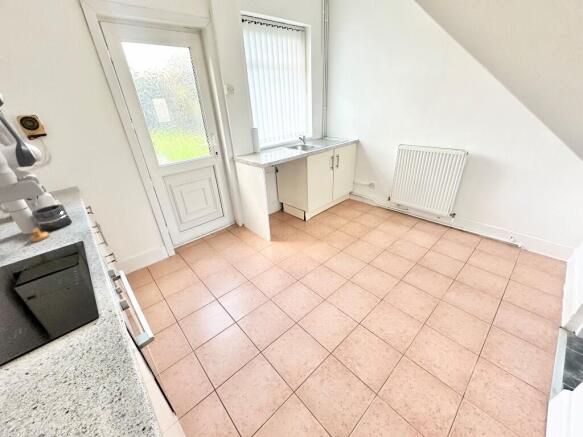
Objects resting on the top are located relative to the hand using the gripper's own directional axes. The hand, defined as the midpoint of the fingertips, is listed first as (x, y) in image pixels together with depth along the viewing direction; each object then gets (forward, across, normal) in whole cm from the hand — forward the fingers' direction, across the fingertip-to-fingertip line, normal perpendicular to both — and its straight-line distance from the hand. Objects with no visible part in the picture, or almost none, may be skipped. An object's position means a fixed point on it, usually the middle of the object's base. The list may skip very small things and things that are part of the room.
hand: (21, 209), depth 109 cm
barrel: (+16, -6, -12) cm, 21 cm away
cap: (+16, 0, 0) cm, 16 cm away
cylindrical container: (+16, +5, -16) cm, 23 cm away
